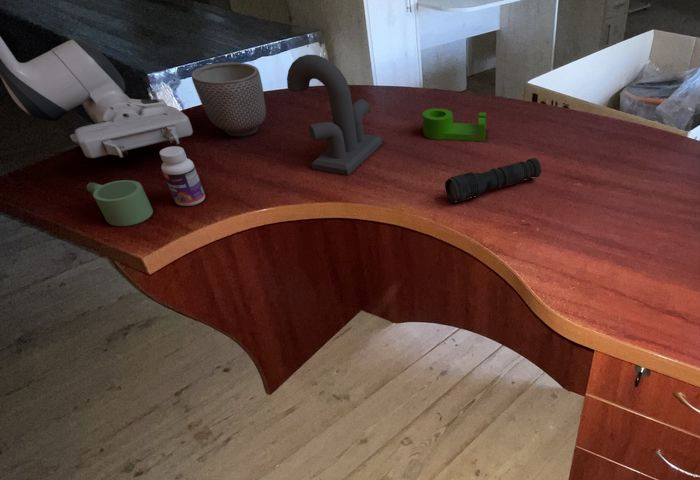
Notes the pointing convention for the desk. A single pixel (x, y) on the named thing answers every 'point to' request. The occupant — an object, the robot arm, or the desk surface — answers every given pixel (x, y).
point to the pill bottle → (181, 176)
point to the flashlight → (490, 179)
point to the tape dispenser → (451, 126)
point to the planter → (231, 96)
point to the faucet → (335, 116)
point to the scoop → (122, 202)
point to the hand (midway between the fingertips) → (149, 147)
